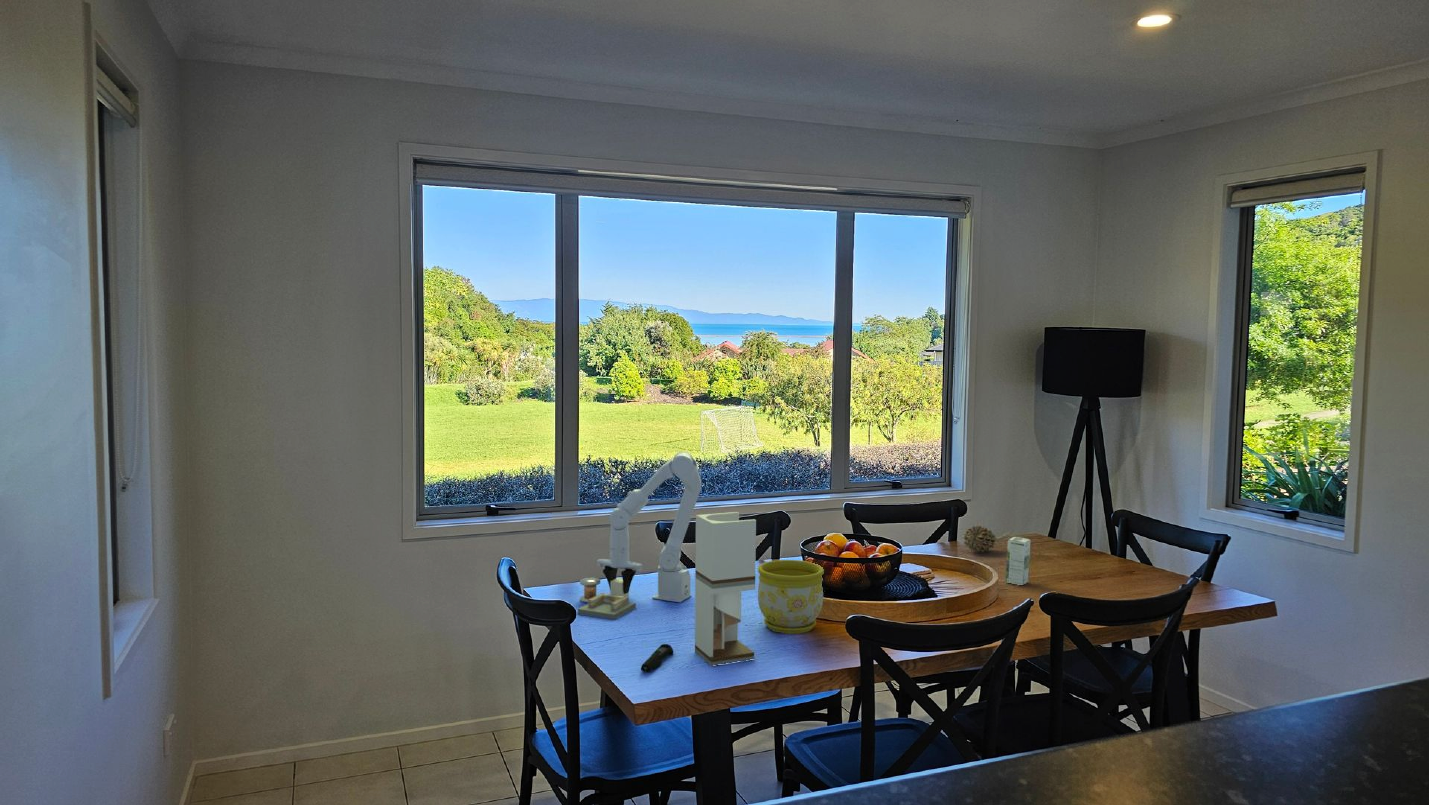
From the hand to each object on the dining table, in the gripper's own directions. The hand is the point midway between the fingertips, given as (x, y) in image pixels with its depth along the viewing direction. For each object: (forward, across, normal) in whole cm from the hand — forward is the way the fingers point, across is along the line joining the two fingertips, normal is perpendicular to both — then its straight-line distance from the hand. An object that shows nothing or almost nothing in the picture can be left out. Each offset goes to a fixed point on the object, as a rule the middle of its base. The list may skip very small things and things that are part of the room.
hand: (619, 592), depth 277 cm
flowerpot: (+2, +56, -4) cm, 56 cm away
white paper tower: (+2, +49, -33) cm, 59 cm away
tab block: (+1, 0, 0) cm, 1 cm away
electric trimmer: (+2, +36, -44) cm, 57 cm away
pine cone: (+2, +93, +110) cm, 144 cm away
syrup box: (+2, +108, +69) cm, 128 cm away
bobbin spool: (+1, -6, -7) cm, 9 cm away
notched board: (+1, +4, -14) cm, 15 cm away
